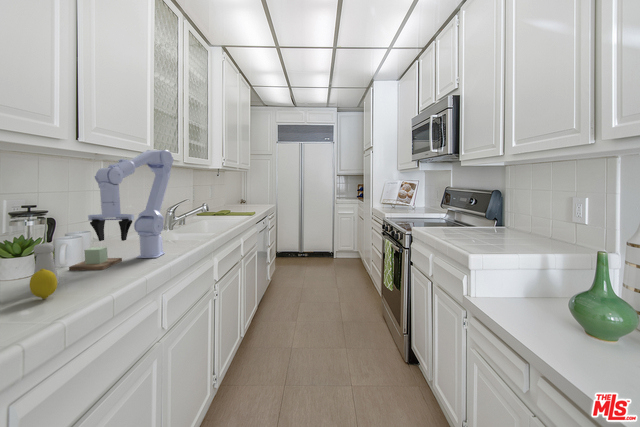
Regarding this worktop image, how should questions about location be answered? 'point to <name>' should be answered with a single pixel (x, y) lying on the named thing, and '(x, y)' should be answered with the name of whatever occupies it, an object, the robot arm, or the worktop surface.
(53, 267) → the salt shaker
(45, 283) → the lemon
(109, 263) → the cutting board
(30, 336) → the worktop surface
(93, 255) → the green cube
